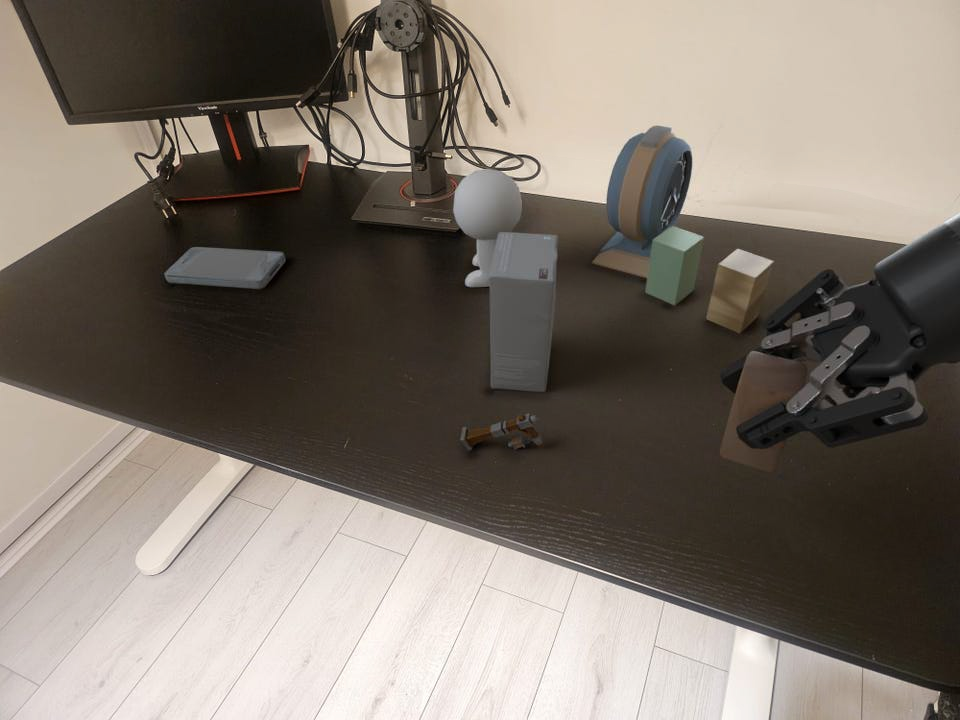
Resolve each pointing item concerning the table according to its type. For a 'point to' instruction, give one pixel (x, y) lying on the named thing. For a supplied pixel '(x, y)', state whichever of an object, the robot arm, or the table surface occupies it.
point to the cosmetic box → (522, 310)
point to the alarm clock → (644, 197)
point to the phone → (226, 267)
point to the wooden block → (760, 405)
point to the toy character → (486, 215)
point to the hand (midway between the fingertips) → (736, 410)
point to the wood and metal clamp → (501, 428)
